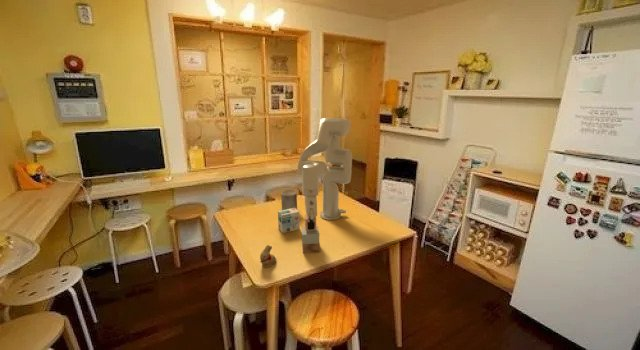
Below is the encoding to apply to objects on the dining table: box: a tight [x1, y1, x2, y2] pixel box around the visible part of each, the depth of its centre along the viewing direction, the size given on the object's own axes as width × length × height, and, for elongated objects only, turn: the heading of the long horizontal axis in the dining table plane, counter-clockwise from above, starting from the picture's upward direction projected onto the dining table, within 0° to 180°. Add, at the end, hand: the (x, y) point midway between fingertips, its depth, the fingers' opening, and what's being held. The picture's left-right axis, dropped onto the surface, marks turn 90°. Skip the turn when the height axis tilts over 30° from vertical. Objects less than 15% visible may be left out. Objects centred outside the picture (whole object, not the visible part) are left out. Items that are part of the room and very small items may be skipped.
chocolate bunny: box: [259, 244, 277, 269], centre depth 127 cm, size 6×8×10 cm
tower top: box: [301, 225, 320, 245], centre depth 139 cm, size 8×8×5 cm
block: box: [304, 214, 317, 231], centre depth 137 cm, size 5×5×6 cm
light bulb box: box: [277, 208, 300, 234], centre depth 159 cm, size 11×7×11 cm, turn 117°
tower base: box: [301, 242, 321, 254], centre depth 140 cm, size 8×8×5 cm
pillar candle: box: [280, 189, 298, 210], centre depth 180 cm, size 10×10×15 cm
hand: (310, 226), depth 138 cm, fingers closed on block, 4 cm apart
